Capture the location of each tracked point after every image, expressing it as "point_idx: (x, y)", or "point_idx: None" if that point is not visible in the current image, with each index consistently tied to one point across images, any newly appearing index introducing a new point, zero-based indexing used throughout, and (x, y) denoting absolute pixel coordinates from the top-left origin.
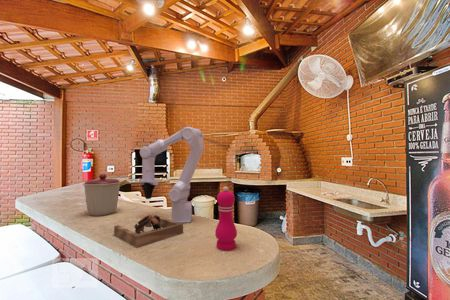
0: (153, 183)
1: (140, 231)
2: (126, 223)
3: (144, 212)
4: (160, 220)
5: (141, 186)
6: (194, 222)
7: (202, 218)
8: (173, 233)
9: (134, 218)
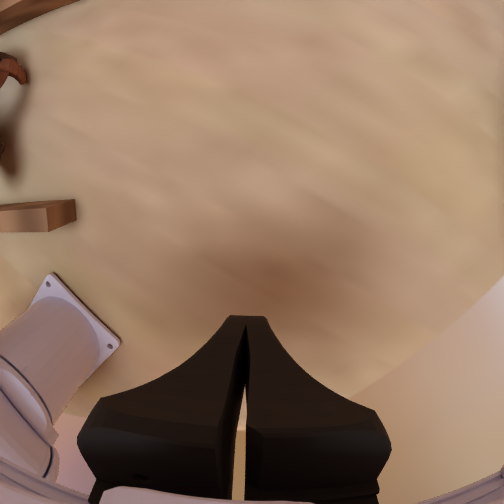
0: (6, 479)
1: (22, 83)
2: (243, 81)
3: (406, 317)
4: (10, 208)
5: (363, 408)
6: None
7: None
8: None
9: (326, 185)
